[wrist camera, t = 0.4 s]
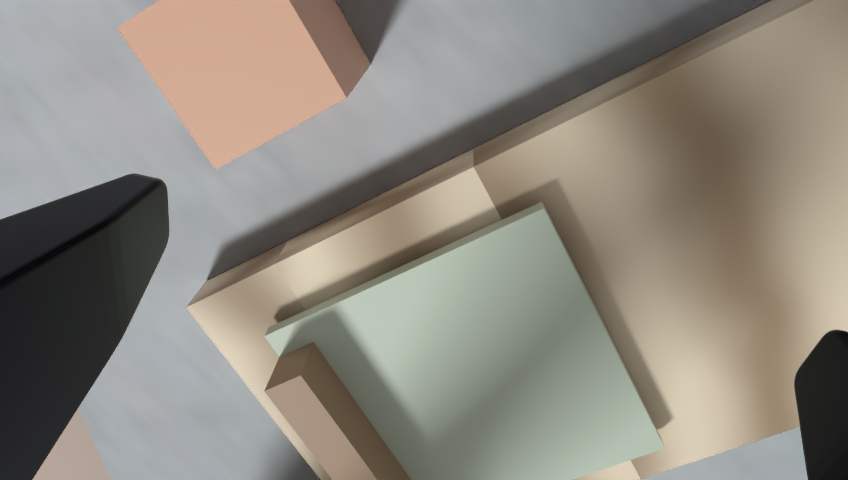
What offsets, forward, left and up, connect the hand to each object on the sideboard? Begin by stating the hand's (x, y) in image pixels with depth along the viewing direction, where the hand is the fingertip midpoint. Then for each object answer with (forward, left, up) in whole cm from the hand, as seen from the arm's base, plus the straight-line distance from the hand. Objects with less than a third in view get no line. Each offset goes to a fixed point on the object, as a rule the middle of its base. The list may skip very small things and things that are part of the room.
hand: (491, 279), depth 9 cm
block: (-5, +4, -15) cm, 17 cm away
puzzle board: (-1, -10, -15) cm, 18 cm away
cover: (-5, -10, -13) cm, 17 cm away
